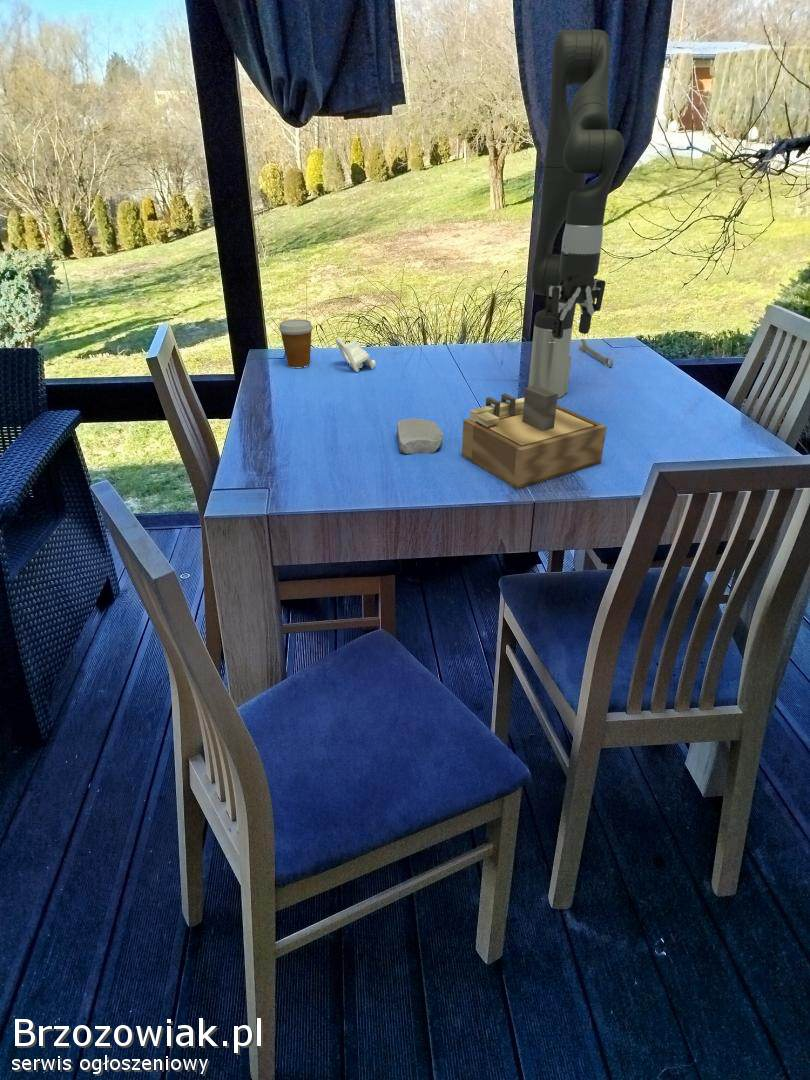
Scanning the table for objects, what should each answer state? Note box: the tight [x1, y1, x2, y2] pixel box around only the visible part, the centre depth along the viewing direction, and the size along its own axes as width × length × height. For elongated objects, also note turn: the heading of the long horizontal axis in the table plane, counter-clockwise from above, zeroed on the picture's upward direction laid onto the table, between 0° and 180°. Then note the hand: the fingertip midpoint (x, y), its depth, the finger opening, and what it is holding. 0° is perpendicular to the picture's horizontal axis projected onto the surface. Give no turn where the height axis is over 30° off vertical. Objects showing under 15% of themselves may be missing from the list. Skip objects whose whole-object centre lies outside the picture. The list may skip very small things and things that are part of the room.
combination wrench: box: [578, 338, 614, 368], centre depth 201 cm, size 4×1×20 cm
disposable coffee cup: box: [278, 318, 314, 368], centre depth 193 cm, size 10×10×12 cm
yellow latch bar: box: [469, 396, 525, 426], centre depth 140 cm, size 19×6×3 cm, turn 122°
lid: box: [482, 385, 594, 447], centre depth 134 cm, size 19×12×8 cm, turn 122°
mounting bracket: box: [335, 337, 377, 372], centre depth 193 cm, size 12×6×11 cm, turn 21°
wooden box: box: [461, 393, 608, 490], centre depth 138 cm, size 22×18×12 cm
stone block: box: [396, 417, 444, 455], centre depth 148 cm, size 12×5×10 cm
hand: (570, 335), depth 141 cm, fingers open, 6 cm apart
